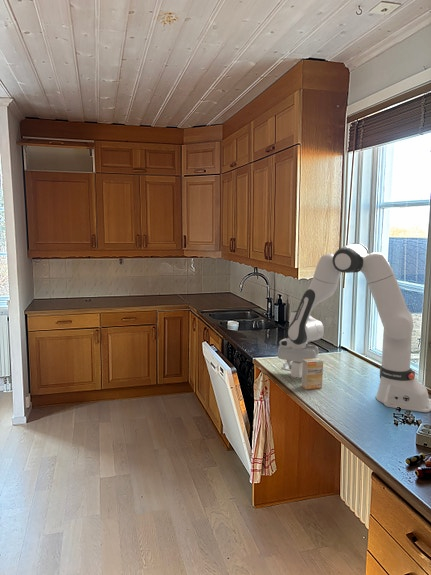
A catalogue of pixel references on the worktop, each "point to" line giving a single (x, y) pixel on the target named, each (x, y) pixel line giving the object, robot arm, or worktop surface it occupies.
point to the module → (296, 369)
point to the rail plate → (286, 366)
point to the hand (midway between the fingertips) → (297, 370)
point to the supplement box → (312, 373)
